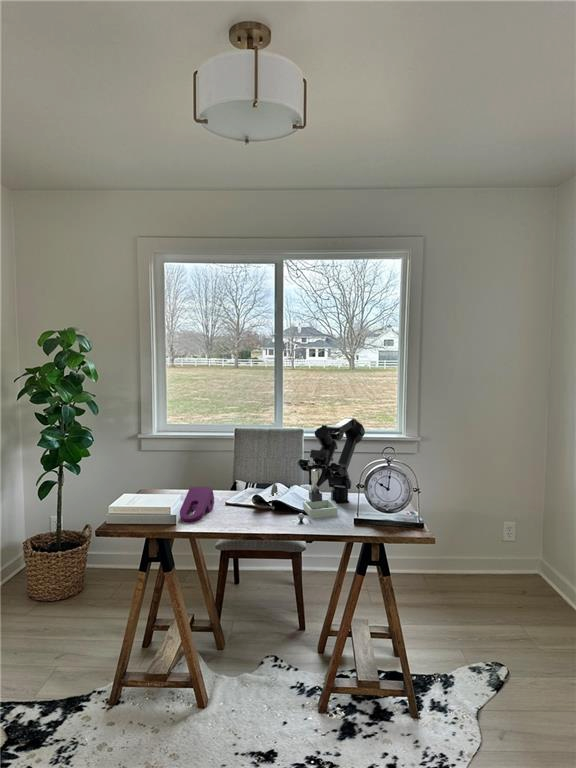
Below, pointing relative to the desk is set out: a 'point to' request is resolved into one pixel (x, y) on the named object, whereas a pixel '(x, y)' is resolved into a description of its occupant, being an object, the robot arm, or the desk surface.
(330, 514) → the bin
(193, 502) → the mounting bracket
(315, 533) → the desk surface
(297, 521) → the stud plate
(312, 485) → the strut
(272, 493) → the pocket watch
